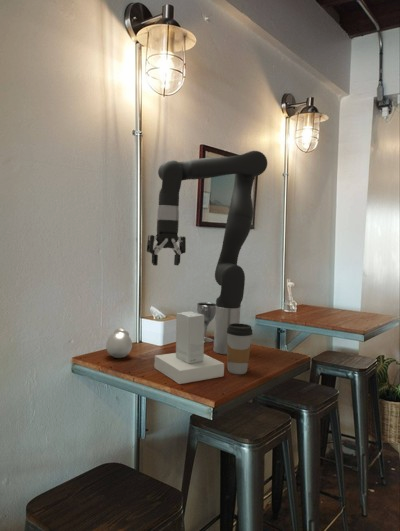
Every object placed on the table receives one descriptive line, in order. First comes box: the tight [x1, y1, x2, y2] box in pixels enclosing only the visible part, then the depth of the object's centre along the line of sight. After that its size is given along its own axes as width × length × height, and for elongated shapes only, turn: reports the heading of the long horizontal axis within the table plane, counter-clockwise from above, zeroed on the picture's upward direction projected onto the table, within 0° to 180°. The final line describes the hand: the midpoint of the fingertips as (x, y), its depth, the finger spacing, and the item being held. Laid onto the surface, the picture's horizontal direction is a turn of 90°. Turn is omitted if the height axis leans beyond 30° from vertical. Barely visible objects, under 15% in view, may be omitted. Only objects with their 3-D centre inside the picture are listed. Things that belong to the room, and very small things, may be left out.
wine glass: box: [196, 302, 216, 343], centre depth 174 cm, size 8×8×15 cm
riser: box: [154, 352, 225, 385], centre depth 134 cm, size 16×16×4 cm
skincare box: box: [175, 310, 205, 364], centre depth 133 cm, size 8×6×15 cm
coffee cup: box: [226, 323, 253, 375], centre depth 137 cm, size 8×8×15 cm
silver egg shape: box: [105, 327, 133, 359], centre depth 145 cm, size 9×10×10 cm
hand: (165, 265), depth 149 cm, fingers open, 8 cm apart
